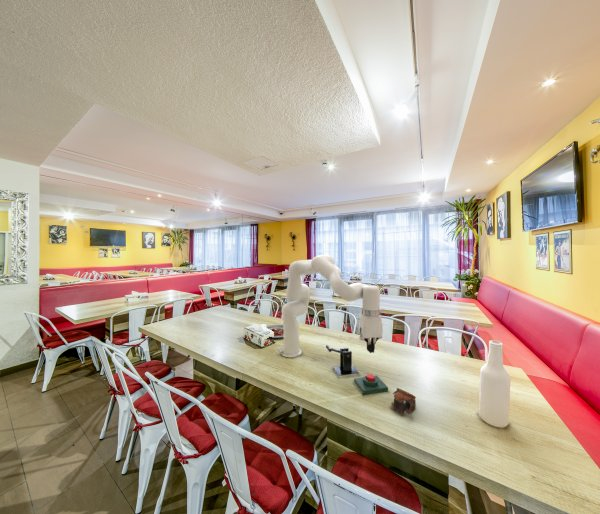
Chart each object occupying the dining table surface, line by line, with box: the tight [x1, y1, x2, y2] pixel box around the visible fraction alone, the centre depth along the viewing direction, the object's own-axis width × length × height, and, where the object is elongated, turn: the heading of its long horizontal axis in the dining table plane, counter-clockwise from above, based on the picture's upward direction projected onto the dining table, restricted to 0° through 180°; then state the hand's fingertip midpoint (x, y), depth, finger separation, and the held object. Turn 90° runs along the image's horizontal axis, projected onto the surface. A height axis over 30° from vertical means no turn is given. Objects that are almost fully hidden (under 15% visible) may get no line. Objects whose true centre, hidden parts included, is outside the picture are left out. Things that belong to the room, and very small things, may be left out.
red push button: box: [366, 373, 376, 382], centre depth 112 cm, size 4×4×2 cm
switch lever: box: [325, 344, 346, 355], centre depth 124 cm, size 12×5×2 cm, turn 103°
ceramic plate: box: [266, 324, 284, 339], centre depth 181 cm, size 26×26×3 cm
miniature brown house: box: [390, 387, 417, 416], centre depth 96 cm, size 12×10×8 cm
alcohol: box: [478, 339, 511, 428], centre depth 90 cm, size 9×9×30 cm
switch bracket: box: [332, 347, 360, 377], centre depth 125 cm, size 11×9×12 cm
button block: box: [353, 374, 389, 396], centre depth 112 cm, size 12×10×4 cm
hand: (370, 351), depth 111 cm, fingers closed
